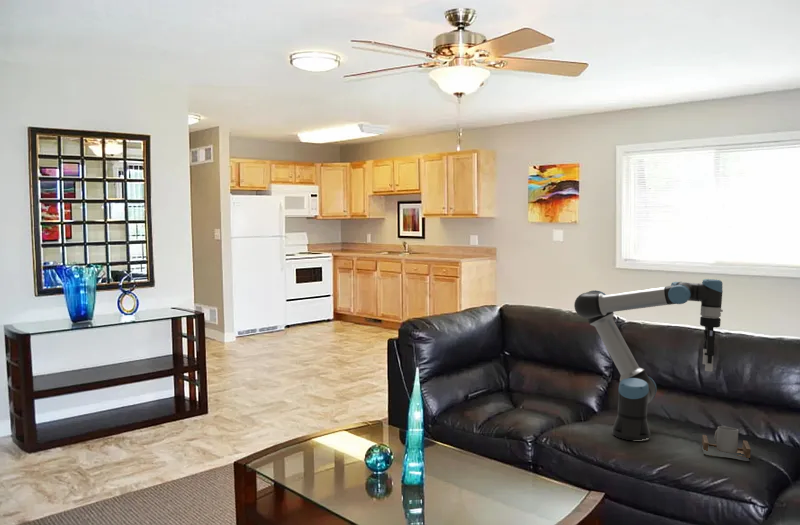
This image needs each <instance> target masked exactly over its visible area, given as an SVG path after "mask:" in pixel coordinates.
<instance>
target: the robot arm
mask: <svg viewBox="0 0 800 525" xmlns="http://www.w3.org/2000/svg"><path fill="white" fill-rule="evenodd" d="M688 301H690V302H700V303H701V304H700V314H699V315H700V317H699V318H700V320H699V325H700V326H702V327H704V330H703V343H702V346H703V350H702V352H703V353H702V365H705V366H704V371H705V372H711V373H712V372H713V370H714V356H715V340H716V339H715V336H716V331H715V330H714V328H716V329H717V328H720V327H721V322H722V321H721V318H720V317H722V312H723V309H722V301H723V281H722V280H720V279H714V278H712V279H709V278H705V279H702V282H699V283H695V282H685V281H684V282H683V281H673V282H671V285H667V286H661V287H660V286H659V287H654V288H648V289H639V290H633V291H624V292H618V293H610V294H609V293H608V294H605V292H604V291H600V290H590V291H587V292H582V293H581V294H579V295H578V296H577V297H576V299H575V301H574V311H575V312H576V314H577V315H578V316H579V317H581V318H582V319H586V320H587V322H588V324H589V325H590V326H592V327H594V328H595V330H596V332H597V333H598V335H599V337H600V339H601V342H602V343H603V345H604V346H605V348H606V350H607V352H608V353H609V356H610V357H611V360H612V361H613V363H614V365H615V367H616V369H617V370H618V373H619V375H620V377H619V383H618V384H619V385H618V388H617V390H618V395H617V396H618V397H617V398H618V399H617V416H616V417H615V421H614V423H613V426H612V430H611V434H612V435H613V436H614V435H615V436H616V437H615V436H614V437H615V438H617V437H619V438H618V439H620V438H622V439H621V440H623V439H627V440H642V439H646V438H649V437H650V438H651V430H650V426H649V424H648V404H649V403H650V402H652V401H653V400H654V399H655V397H656V394H657V384H656V382H655V381H654V380H653V378H652V377H651V376H648V374H647V372H646V370H645V368H642V367H640V366H639V364H638V362H637V361H636V359H635V357H634V355H633V353H632V351H631V349H630V348H629V346H628V344H627V343H626V340H625V338H624V336H623V335H622V333H621V331H620V329H619V328H618V326H617V324H616V322H615V320H614V318H613V317H614V314H615V312H624V311H631V310H638V309H645V308H654V307H655V308H656V307H661V306H669V305H671V306H672V305H682V304H686V303H687V302H688ZM627 440H626V441H627Z"/></svg>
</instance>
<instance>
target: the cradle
mask: <svg viewBox="0 0 800 525" xmlns="http://www.w3.org/2000/svg"><path fill="white" fill-rule="evenodd" d="M702 445H703V449H704V450H706V451H708V445H709V446H714V447H717V444H716V443H715V444H714V443H710V442H709V440H708V436H707V435H706V434H702V438H701V446H702ZM750 446H751V445H750V444H749V442H748V440H744V439H743V440H742V447H738V448H737V453H741V454H744V455H745V456H742V455H737V456H742V457H746V458H750V459H751V455H752V454H751V451H752V448H751V447H750Z"/></svg>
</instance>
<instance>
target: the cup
mask: <svg viewBox="0 0 800 525" xmlns="http://www.w3.org/2000/svg"><path fill="white" fill-rule="evenodd" d="M714 432H715V433H714V442H715V444H716V445H717V450H719V451H722V452H726V453H737V448H739V446H738V444H739V443H738V442H739V429H738V428H735V427H729V426H723V425H721V426H717V429H716V430H715V431H714Z"/></svg>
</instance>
